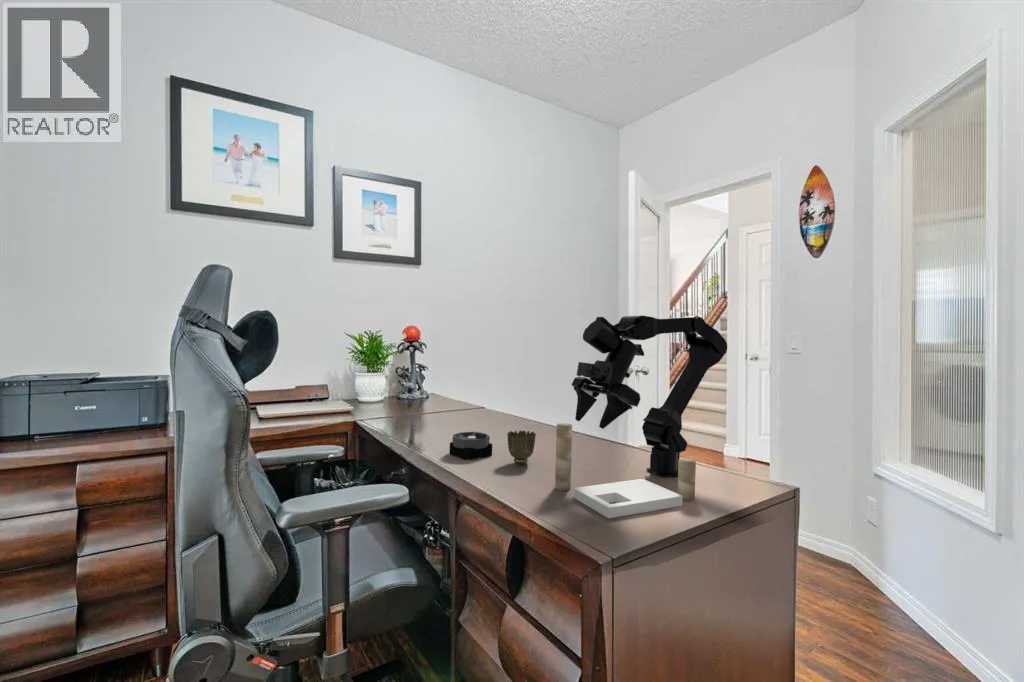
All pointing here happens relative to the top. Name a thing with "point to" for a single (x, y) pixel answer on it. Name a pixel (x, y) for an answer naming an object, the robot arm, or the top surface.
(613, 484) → the hole plate
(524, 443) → the cup
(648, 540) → the top surface
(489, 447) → the cpu cooler
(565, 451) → the long pin
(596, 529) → the top surface
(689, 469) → the short pin
